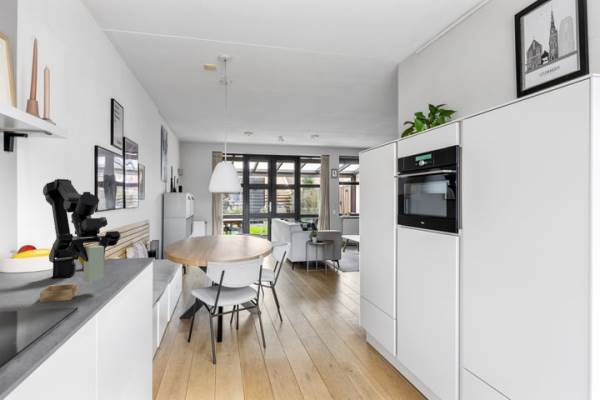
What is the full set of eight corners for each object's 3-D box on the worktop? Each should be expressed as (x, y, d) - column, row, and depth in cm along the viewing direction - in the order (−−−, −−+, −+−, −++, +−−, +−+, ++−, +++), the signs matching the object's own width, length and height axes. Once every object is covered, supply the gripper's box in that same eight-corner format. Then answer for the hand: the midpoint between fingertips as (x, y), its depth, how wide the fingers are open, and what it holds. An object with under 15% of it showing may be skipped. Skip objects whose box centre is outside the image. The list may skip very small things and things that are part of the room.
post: (88, 281, 105) (89, 247, 105) (83, 278, 108) (84, 246, 108) (103, 278, 109) (104, 246, 108) (98, 276, 111) (98, 245, 111)
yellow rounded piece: (89, 271, 137) (70, 255, 136) (88, 274, 141) (69, 259, 139) (100, 262, 141) (81, 247, 139) (98, 265, 145) (80, 250, 143)
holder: (40, 302, 96) (40, 292, 96) (48, 294, 104) (48, 285, 104) (71, 299, 100) (71, 290, 100) (77, 292, 107) (77, 283, 107)
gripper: (57, 209, 103) (68, 248, 96) (119, 209, 118) (132, 242, 111) (49, 231, 108) (59, 269, 101) (109, 228, 123) (121, 261, 116)
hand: (95, 259), depth 107 cm, fingers closed on post, 4 cm apart
